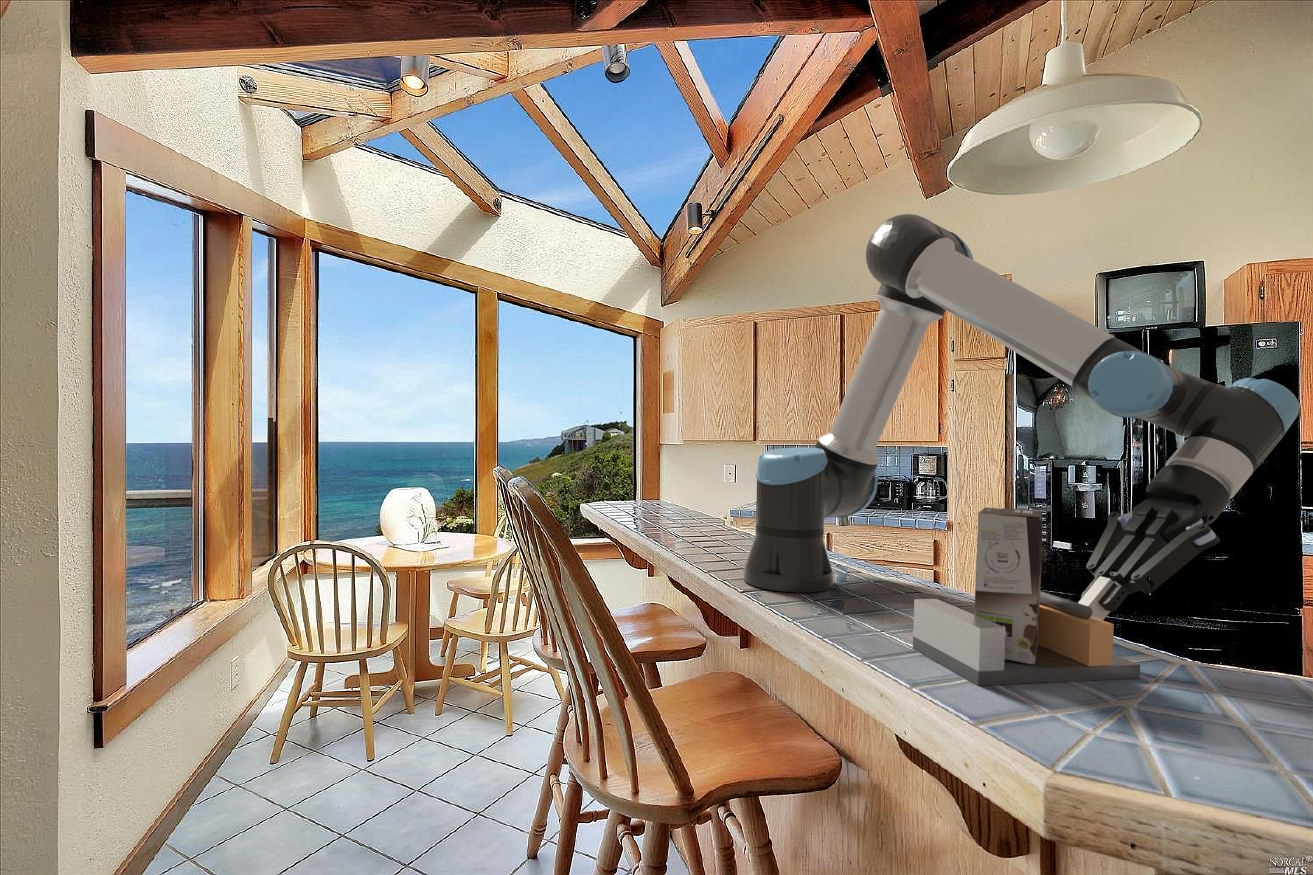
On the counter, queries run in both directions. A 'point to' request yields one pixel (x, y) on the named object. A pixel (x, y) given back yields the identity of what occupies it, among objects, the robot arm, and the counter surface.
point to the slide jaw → (1074, 631)
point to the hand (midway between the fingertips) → (1078, 625)
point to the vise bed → (1038, 670)
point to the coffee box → (1010, 577)
